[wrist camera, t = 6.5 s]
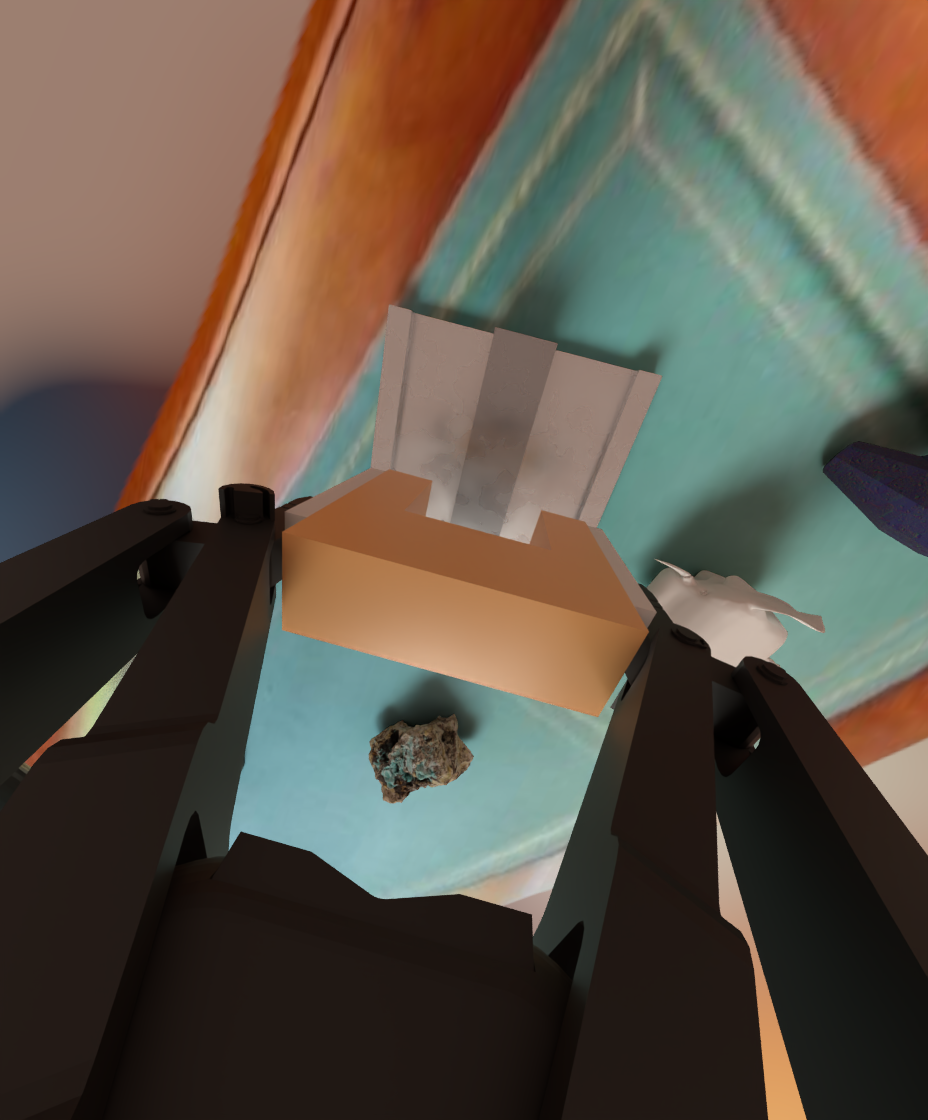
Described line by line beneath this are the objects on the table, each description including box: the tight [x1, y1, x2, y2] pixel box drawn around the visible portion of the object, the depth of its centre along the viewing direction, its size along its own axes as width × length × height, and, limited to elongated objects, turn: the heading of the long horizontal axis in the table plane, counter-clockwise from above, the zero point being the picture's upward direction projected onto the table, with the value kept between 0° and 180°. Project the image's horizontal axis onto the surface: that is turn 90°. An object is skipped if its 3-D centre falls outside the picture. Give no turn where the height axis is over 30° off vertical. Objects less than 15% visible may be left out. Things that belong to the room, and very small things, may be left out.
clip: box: [282, 469, 649, 717], centre depth 12 cm, size 9×3×8 cm, turn 77°
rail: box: [371, 305, 662, 544], centre depth 26 cm, size 18×18×4 cm
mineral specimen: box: [369, 714, 474, 803], centre depth 39 cm, size 12×9×8 cm
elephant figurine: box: [647, 559, 825, 667], centre depth 26 cm, size 10×12×9 cm
